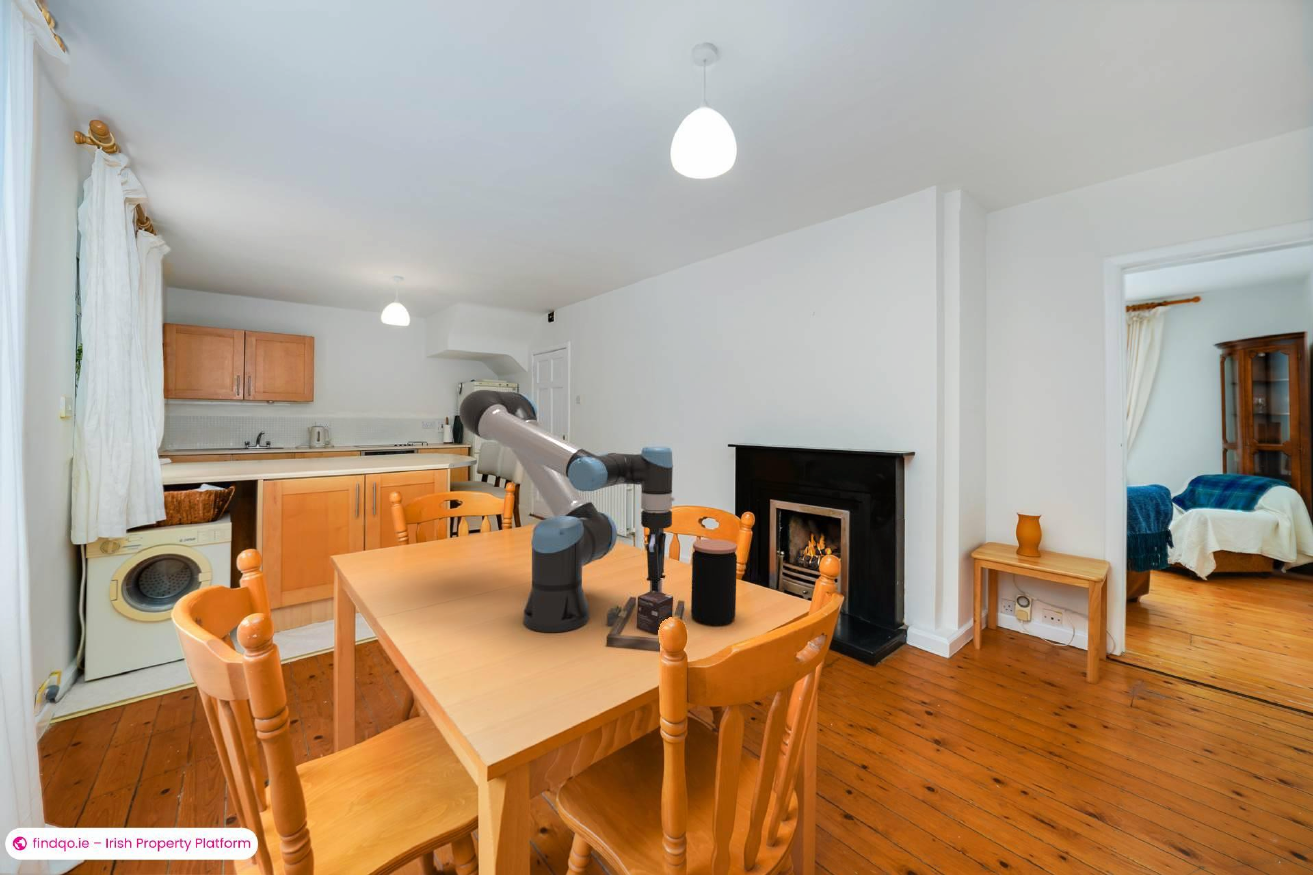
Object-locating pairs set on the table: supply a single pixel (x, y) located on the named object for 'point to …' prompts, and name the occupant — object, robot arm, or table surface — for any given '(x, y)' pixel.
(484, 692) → the table surface
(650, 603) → the box
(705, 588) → the coffee jar
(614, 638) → the brown angular bar frame
